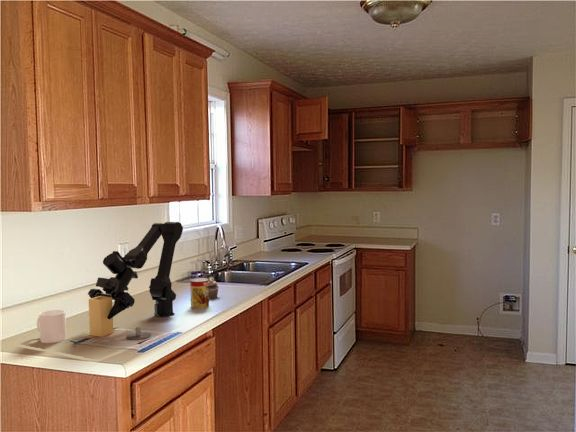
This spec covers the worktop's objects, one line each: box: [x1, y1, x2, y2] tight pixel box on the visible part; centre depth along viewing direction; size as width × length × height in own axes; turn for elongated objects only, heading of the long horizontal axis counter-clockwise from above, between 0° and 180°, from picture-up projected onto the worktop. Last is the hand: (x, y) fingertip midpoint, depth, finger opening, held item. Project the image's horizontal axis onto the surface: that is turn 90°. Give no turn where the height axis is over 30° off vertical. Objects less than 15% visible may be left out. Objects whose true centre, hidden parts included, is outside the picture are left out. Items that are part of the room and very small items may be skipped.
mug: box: [36, 309, 67, 344], centre depth 178 cm, size 12×8×10 cm
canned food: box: [189, 277, 210, 310], centre depth 225 cm, size 8×8×12 cm
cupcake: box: [202, 275, 219, 300], centre depth 244 cm, size 10×10×10 cm
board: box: [82, 325, 157, 345], centre depth 181 cm, size 23×11×4 cm, turn 74°
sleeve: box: [88, 296, 114, 337], centre depth 183 cm, size 6×6×13 cm
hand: (98, 317), depth 182 cm, fingers open, 9 cm apart
